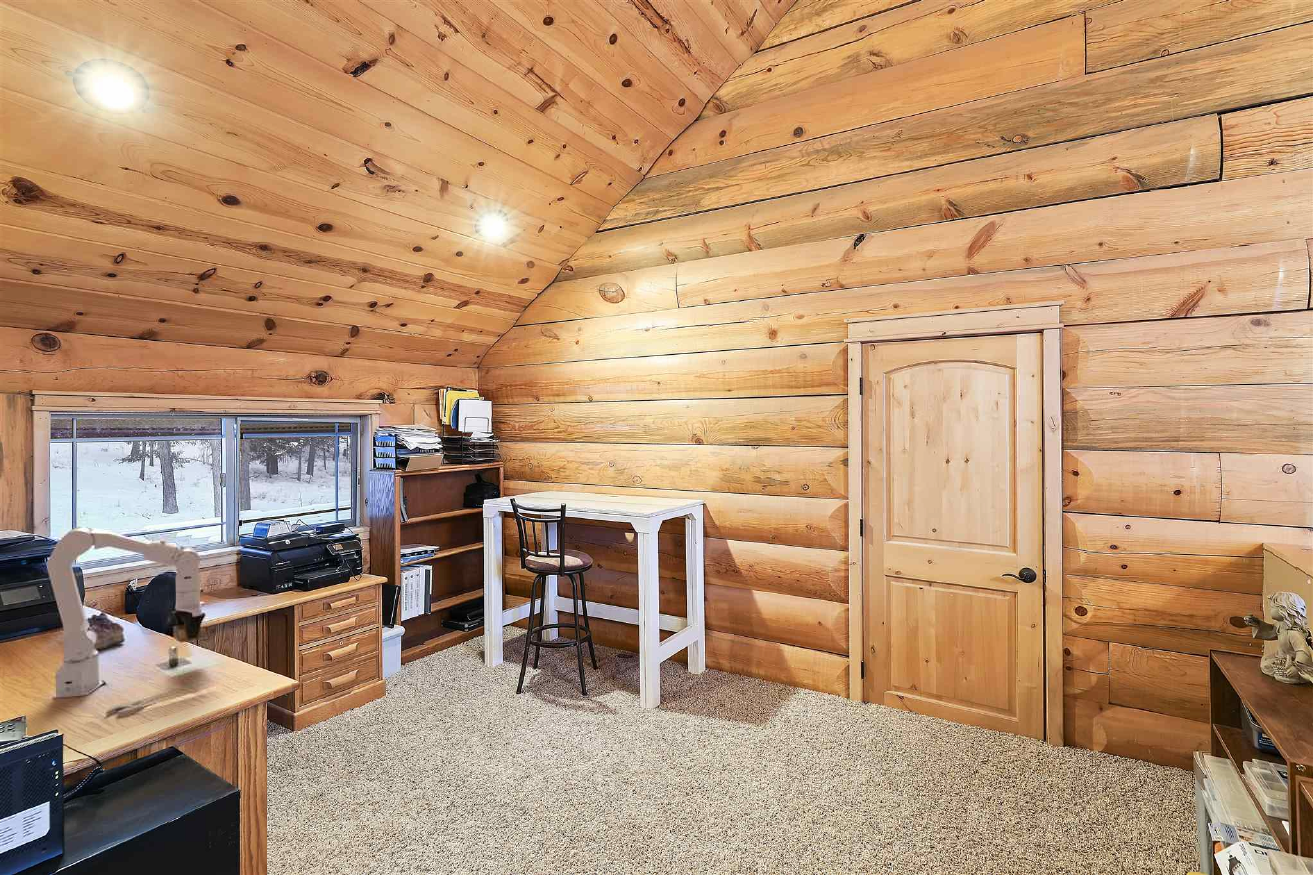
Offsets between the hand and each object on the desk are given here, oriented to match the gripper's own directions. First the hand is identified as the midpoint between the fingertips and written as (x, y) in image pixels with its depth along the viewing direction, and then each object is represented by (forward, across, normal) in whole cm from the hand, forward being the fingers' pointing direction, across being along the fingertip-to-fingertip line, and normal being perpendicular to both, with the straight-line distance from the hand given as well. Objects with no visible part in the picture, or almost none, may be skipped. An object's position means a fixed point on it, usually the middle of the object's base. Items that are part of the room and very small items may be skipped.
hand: (188, 635), depth 192 cm
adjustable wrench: (+10, -20, +11) cm, 25 cm away
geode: (+10, +50, +10) cm, 52 cm away
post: (+10, +5, +2) cm, 11 cm away
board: (+10, +1, 0) cm, 10 cm away
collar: (0, 0, 0) cm, 1 cm away
